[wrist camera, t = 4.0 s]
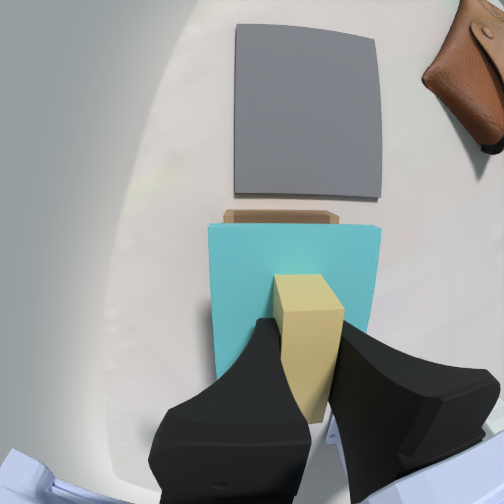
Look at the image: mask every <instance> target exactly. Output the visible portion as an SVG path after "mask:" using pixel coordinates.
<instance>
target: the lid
mask: <svg viewBox="0 0 504 504" xmlns="http://www.w3.org/2000/svg"><path fill="white" fill-rule="evenodd" d="M380 240H381V228H378V227H376V226H374V225H351V224H295V223H213V224H210V225H209V227H208V243H209V268H210V289H211V307H212V323H213V338H214V351H215V364H216V375H217V380H218V379H219V378H220V377H221V376H222V375H223V374H224V373H225V372H226V371H227V370H228V369H229V368H230V367H231V366H232V365H233V363H234V362H235V361H236V360H237V358H238V357H239V356H240V354H241V353H242V351H243V350H244V348H245V347H246V345H247V343H248V341H249V340H250V338H251V336H252V334H253V331H254V329H255V325H256V320H257V319H258V318H275V320H276V322H277V325H278V333H279V352H280V358H281V362H282V365H283V369H284V372H285V375H286V378H287V381H288V384H289V386H290V389H291V391H292V394H293V396H294V399H295V401H296V402H297V404H298V406H299V408H300V410H301V412H302V414H303V415H304V417H305V418H306V420H307V422H308V424H314V423H322V422H323V418H324V414H325V410H326V406H327V402H328V397H329V393H330V389H331V384H332V379H333V374H334V370H335V365H336V359H337V354H338V349H339V343H340V337H341V331H342V325H343V320H345V321H347V322H348V323H350V324H351V325H353V326H355V327H356V328H358V329H359V330H361V331H363V332H364V333H366V331H367V326H368V321H369V316H370V311H371V305H372V299H373V293H374V287H375V280H376V273H377V266H378V258H379V249H380Z"/></svg>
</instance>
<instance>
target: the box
mask: <svg viewBox="0 0 504 504" xmlns="http://www.w3.org/2000/svg"><path fill="white" fill-rule="evenodd" d="M224 223H295V224H339V216H337V215H335V214H333V213H331V212H328V211H316V210H226V212H225V214H224Z"/></svg>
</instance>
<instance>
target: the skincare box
mask: <svg viewBox="0 0 504 504" xmlns="http://www.w3.org/2000/svg"><path fill="white" fill-rule="evenodd" d="M482 429H483V430H484V431H485V433H486V436H485V437H484V438H483V439H482V440H483V441H484V440H486V439H487V438H489V437H491V436H493V435H494V434H496V433H498V432H499V431H502V430H504V402H503V401H502V400H501V399H500V398H498V400H497V402H496V404H495V406H494V408H493V410H492V411H491V413H490V415H489V416H488V418H487V420H486V421H485V423H484V424H483V426H482Z"/></svg>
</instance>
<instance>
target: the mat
mask: <svg viewBox="0 0 504 504" xmlns="http://www.w3.org/2000/svg"><path fill="white" fill-rule="evenodd" d="M381 185H382V119H381V99H380V85H379V74H378V64H377V56H376V48H375V41H374V39H370V38H366V37H361V36H357V35H352V34H347V33H341V32H336V31H329V30H323V29H316V28H307V27H298V26H286V25H270V24H237V28H236V77H235V193H291V194H324V195H346V196H363V197H379V198H381Z"/></svg>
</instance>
